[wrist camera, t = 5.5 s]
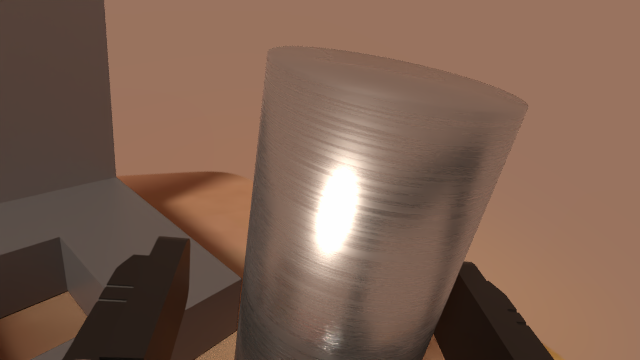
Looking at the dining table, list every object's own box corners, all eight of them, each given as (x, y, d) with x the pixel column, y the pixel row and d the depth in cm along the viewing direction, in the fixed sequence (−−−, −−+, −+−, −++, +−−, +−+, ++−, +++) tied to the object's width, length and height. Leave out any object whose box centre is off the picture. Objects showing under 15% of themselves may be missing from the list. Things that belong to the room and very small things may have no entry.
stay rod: (373, 498, 12) (550, 98, 6) (287, 642, 9) (478, 131, 3) (284, 409, 14) (359, 49, 8) (190, 503, 11) (210, 42, 5)
